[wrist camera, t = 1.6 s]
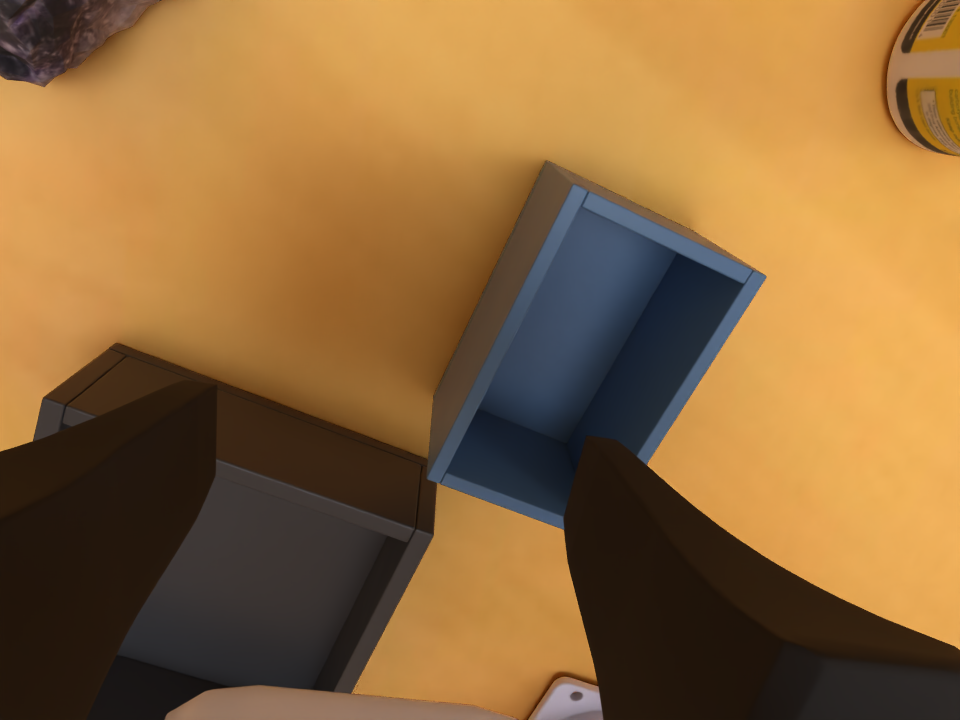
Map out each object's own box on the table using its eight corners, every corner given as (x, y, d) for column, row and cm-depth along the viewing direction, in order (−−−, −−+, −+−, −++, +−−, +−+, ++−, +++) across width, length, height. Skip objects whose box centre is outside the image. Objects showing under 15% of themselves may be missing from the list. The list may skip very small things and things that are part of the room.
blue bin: (545, 159, 19) (573, 182, 14) (696, 232, 20) (768, 276, 15) (432, 396, 22) (426, 479, 17) (569, 450, 23) (597, 542, 18)
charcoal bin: (438, 463, 23) (434, 535, 19) (314, 710, 27) (292, 807, 24) (115, 341, 21) (41, 397, 17) (39, 631, 25) (-33, 724, 22)
